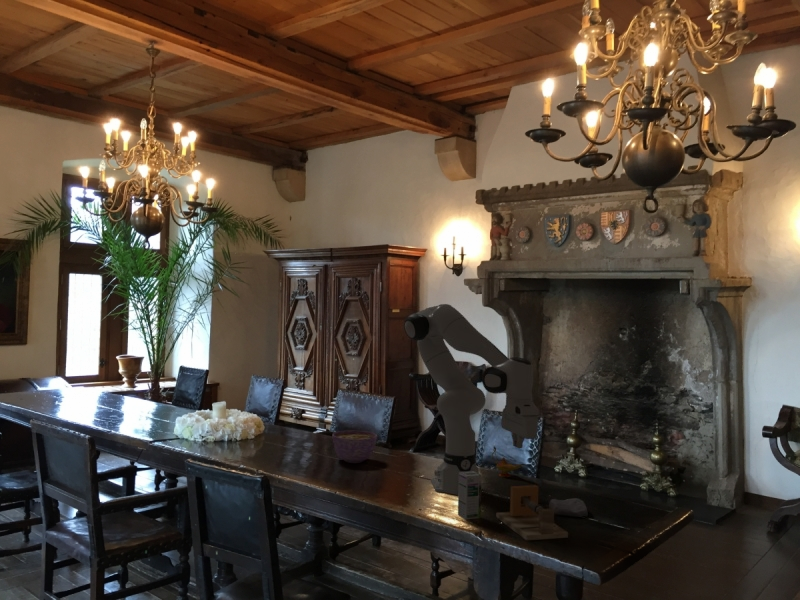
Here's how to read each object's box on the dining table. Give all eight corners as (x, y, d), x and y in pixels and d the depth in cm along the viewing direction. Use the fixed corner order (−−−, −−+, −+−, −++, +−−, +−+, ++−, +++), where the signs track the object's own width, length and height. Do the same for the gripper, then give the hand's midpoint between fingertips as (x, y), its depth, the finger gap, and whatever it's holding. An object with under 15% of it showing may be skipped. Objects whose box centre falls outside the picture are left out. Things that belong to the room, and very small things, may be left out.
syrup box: (465, 520, 215) (467, 476, 215) (457, 514, 220) (458, 471, 220) (480, 518, 217) (482, 474, 217) (472, 513, 222) (473, 470, 222)
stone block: (589, 522, 223) (581, 507, 232) (590, 509, 222) (581, 495, 231) (555, 523, 222) (547, 508, 232) (555, 510, 221) (548, 495, 231)
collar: (509, 513, 215) (510, 486, 215) (534, 512, 217) (535, 485, 217) (512, 515, 213) (513, 488, 213) (537, 514, 215) (538, 486, 216)
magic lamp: (519, 482, 264) (520, 455, 264) (485, 472, 277) (486, 446, 277) (530, 479, 268) (531, 452, 268) (496, 470, 282) (497, 444, 282)
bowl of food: (376, 456, 301) (377, 431, 301) (376, 467, 281) (377, 440, 281) (332, 455, 300) (333, 429, 300) (329, 465, 280) (330, 438, 280)
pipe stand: (496, 517, 219) (497, 491, 219) (534, 514, 223) (535, 489, 223) (526, 540, 198) (527, 512, 198) (567, 537, 202) (568, 509, 202)
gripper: (497, 401, 230) (496, 440, 230) (524, 411, 211) (522, 454, 211) (514, 401, 232) (512, 440, 232) (541, 411, 212) (540, 453, 212)
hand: (517, 447), depth 221 cm, fingers closed
